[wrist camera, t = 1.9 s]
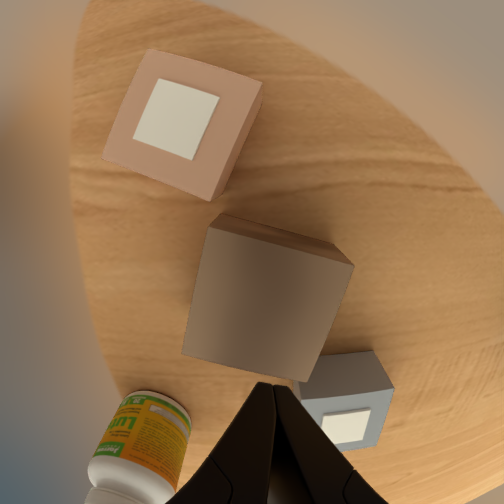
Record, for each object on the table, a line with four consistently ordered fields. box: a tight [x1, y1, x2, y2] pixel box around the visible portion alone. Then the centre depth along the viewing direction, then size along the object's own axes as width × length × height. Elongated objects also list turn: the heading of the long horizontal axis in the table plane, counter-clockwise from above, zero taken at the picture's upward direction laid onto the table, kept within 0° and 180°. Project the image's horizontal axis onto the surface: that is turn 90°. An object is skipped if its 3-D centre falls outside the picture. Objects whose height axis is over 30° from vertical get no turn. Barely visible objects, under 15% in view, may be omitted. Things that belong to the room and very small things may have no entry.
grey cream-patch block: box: [293, 351, 395, 452], centre depth 16 cm, size 5×5×4 cm
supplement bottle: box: [84, 391, 191, 504], centre depth 14 cm, size 5×5×10 cm
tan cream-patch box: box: [101, 48, 263, 202], centre depth 12 cm, size 5×5×4 cm
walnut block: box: [182, 214, 354, 382], centre depth 14 cm, size 6×6×4 cm
